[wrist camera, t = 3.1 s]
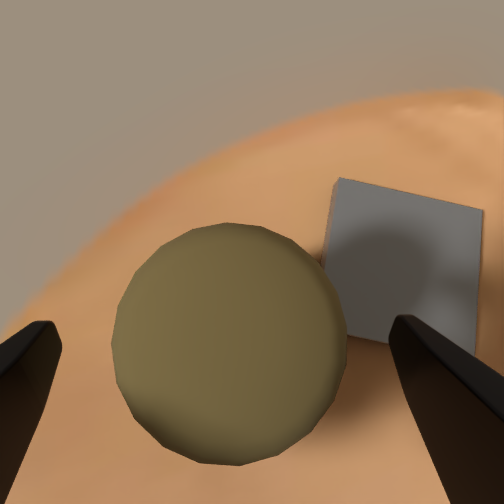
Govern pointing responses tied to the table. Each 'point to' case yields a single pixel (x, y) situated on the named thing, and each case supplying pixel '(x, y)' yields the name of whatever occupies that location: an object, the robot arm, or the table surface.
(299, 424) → the cork
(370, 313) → the coaster
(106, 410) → the table surface
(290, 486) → the table surface
